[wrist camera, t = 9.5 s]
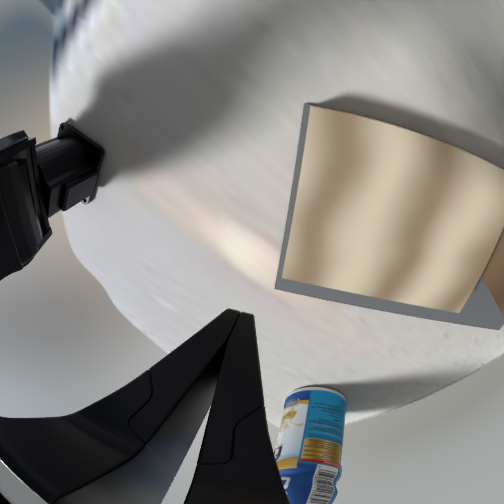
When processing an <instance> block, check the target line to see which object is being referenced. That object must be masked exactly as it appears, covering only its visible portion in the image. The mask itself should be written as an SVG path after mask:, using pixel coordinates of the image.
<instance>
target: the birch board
mask: <svg viewBox="0 0 504 504" xmlns="http://www.w3.org/2000/svg"><path fill="white" fill-rule="evenodd" d="M503 228H504V169H502V168H500V167H499V166H497V165H495V164H493V163H491V162H489V161H486V160H484V159H482V158H480V157H478V156H476V155H474V154H471V153H469V152H467V151H465V150H462V149H460V148H458V147H455V146H453V145H450V144H448V143H445V142H443V141H440V140H438V139H435V138H432V137H430V136H427V135H424V134H421V133H418V132H415V131H412V130H409V129H406V128H403V127H400V126H397V125H393V124H390V123H387V122H383V121H379V120H376V119H372V118H368V117H364V116H360V115H356V114H352V113H348V112H343V111H339V110H334V109H329V108H324V107H319V106H313V105H312V106H310V113H309V120H308V127H307V133H306V140H305V147H304V153H303V160H302V166H301V172H300V178H299V184H298V190H297V196H296V202H295V208H294V214H293V219H292V225H291V230H290V236H289V241H288V247H287V252H286V257H285V263H284V268H283V273H282V278H284V279H289V280H294V281H298V282H303V283H308V284H312V285H317V286H322V287H327V288H332V289H336V290H341V291H346V292H351V293H356V294H361V295H366V296H371V297H376V298H381V299H386V300H391V301H396V302H401V303H407V304H412V305H417V306H422V307H428V308H433V309H438V310H444V311H449V312H455V313H459V312H460V311H461V309H462V308H463V306H464V304H465V303H466V301H467V299H468V298H469V296H470V294H471V293H472V291H473V289H474V287H475V286H476V284H477V282H478V280H479V278H480V276H481V275H482V273H483V271H484V269H485V267H486V265H487V263H488V261H489V259H490V257H491V255H492V253H493V251H494V248H495V246H496V244H497V242H498V240H499V237H500V235H501V233H502V230H503Z"/></svg>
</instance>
